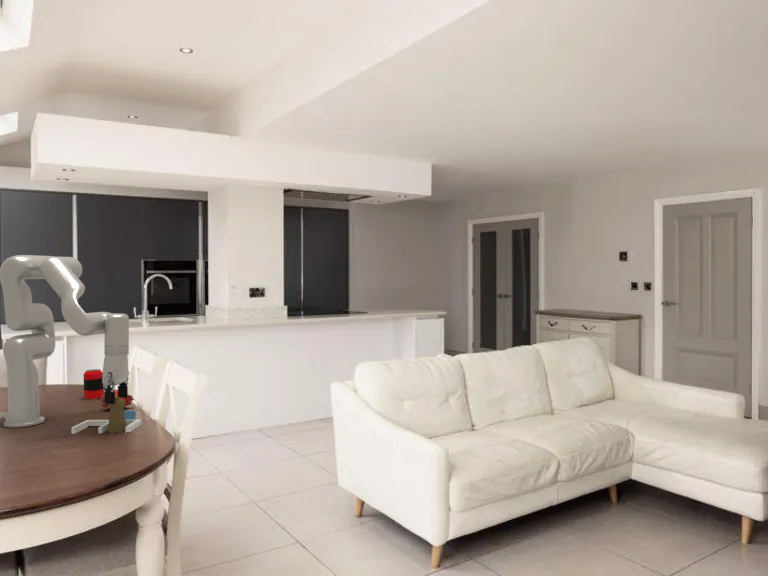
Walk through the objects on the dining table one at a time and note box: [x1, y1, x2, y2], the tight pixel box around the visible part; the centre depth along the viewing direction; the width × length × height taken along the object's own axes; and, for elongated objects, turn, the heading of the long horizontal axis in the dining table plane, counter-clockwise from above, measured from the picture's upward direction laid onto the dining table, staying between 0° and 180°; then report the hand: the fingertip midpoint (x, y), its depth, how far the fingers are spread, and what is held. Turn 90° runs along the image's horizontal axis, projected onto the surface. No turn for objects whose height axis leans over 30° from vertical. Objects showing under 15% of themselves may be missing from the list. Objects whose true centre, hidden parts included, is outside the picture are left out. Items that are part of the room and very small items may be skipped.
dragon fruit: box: [100, 389, 135, 410], centre depth 236 cm, size 8×8×12 cm
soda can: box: [83, 368, 105, 399], centre depth 258 cm, size 8×8×12 cm
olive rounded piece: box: [107, 398, 127, 434], centre depth 204 cm, size 6×6×11 cm
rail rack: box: [70, 409, 142, 435], centre depth 206 cm, size 19×11×5 cm, turn 90°
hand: (116, 400), depth 205 cm, fingers open, 9 cm apart
